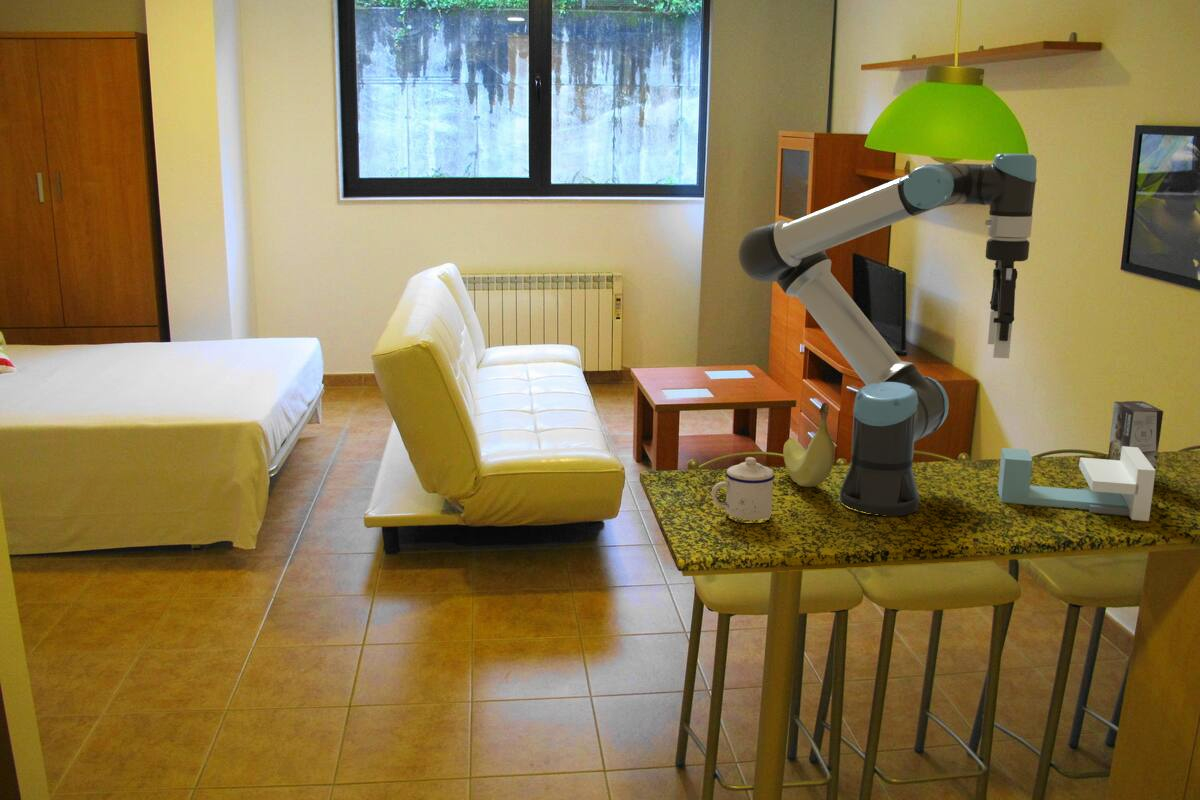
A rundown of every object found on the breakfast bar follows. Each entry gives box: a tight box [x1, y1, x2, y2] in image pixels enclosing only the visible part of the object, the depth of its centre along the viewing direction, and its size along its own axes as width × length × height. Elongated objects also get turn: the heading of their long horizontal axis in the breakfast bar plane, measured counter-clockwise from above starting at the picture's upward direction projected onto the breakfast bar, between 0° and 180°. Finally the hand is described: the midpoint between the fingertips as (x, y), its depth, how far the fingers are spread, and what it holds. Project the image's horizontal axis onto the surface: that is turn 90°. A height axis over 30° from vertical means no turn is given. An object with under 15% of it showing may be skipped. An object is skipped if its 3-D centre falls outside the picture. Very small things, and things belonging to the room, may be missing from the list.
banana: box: [782, 402, 835, 488], centre depth 223 cm, size 23×6×20 cm, turn 8°
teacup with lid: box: [711, 456, 776, 520], centre depth 205 cm, size 12×9×12 cm
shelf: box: [1078, 446, 1157, 522], centre depth 213 cm, size 10×16×10 cm, turn 165°
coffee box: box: [1107, 400, 1164, 471], centre depth 229 cm, size 9×6×16 cm
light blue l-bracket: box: [997, 447, 1128, 511], centre depth 216 cm, size 23×8×9 cm, turn 75°
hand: (997, 350), depth 208 cm, fingers open, 13 cm apart
